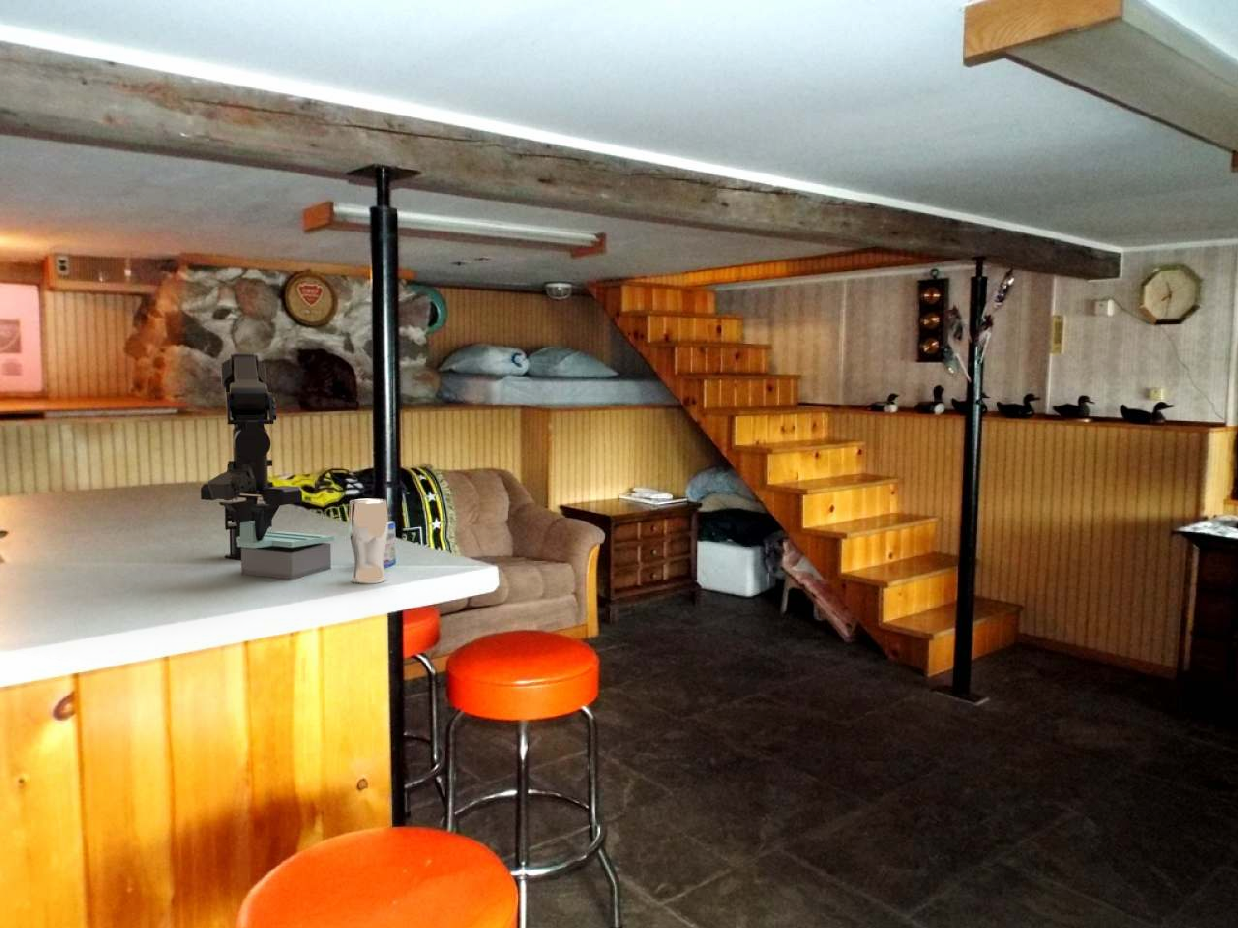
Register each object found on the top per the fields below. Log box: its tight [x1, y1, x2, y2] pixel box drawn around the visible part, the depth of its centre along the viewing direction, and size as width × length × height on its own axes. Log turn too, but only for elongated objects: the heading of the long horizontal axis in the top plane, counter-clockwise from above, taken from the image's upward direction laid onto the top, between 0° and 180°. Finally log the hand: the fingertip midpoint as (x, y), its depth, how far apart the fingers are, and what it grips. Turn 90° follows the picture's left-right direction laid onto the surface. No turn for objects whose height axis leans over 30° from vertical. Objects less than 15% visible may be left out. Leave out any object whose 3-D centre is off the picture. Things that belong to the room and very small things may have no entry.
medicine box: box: [383, 521, 397, 569], centre depth 184 cm, size 8×4×9 cm, turn 168°
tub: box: [240, 542, 332, 581], centre depth 178 cm, size 12×11×5 cm
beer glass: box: [348, 497, 389, 585], centre depth 171 cm, size 7×7×15 cm
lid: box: [236, 521, 335, 549], centre depth 175 cm, size 13×17×4 cm
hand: (252, 539), depth 169 cm, fingers closed on lid, 3 cm apart
